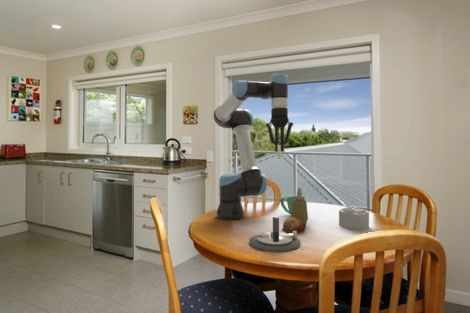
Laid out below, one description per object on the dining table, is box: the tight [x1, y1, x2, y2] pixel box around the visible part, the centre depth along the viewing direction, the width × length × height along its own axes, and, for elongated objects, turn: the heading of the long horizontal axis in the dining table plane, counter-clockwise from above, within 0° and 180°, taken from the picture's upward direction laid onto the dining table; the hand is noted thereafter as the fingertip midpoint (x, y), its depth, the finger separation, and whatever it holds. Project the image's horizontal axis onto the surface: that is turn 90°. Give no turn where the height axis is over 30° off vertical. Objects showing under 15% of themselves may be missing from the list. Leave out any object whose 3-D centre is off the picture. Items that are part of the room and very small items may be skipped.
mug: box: [280, 196, 306, 216], centre depth 167 cm, size 15×10×10 cm
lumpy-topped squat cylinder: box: [338, 206, 370, 231], centre depth 145 cm, size 10×13×9 cm
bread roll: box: [282, 216, 306, 234], centre depth 139 cm, size 10×10×8 cm
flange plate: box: [256, 216, 293, 246], centre depth 122 cm, size 14×16×10 cm
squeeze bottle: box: [290, 187, 309, 226], centre depth 147 cm, size 8×8×18 cm
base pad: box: [249, 231, 301, 253], centre depth 122 cm, size 20×20×4 cm
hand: (279, 158), depth 143 cm, fingers closed
